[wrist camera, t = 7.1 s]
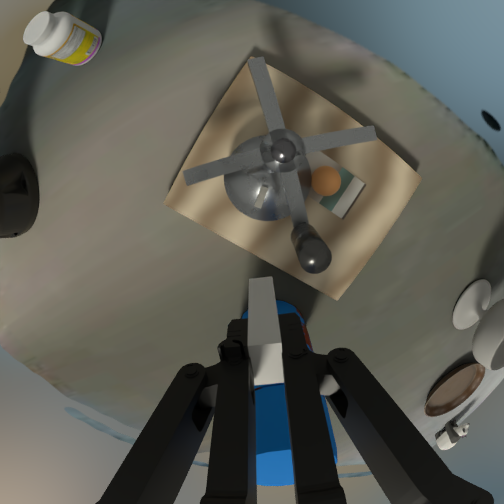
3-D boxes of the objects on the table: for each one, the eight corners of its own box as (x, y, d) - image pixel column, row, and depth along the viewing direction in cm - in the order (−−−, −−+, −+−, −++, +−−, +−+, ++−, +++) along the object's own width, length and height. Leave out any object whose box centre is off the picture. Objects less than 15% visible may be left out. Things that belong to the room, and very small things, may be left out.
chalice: (497, 268, 40) (542, 301, 26) (484, 321, 45) (519, 359, 31) (454, 282, 41) (502, 326, 27) (442, 339, 46) (476, 385, 32)
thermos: (286, 287, 41) (317, 435, 18) (315, 334, 44) (351, 468, 21) (225, 317, 43) (205, 463, 20) (259, 359, 46) (262, 491, 23)
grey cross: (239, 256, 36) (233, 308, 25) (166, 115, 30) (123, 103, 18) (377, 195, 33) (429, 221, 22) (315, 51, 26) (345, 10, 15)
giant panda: (440, 435, 65) (449, 453, 56) (431, 437, 65) (440, 456, 56) (465, 409, 60) (476, 428, 51) (456, 411, 59) (467, 431, 51)
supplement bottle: (67, 44, 26) (17, 26, 14) (100, 22, 25) (55, -6, 13) (72, 74, 28) (18, 61, 16) (106, 52, 28) (57, 28, 16)
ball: (302, 183, 33) (308, 187, 30) (318, 159, 32) (325, 160, 28) (326, 198, 34) (333, 204, 30) (341, 175, 32) (350, 178, 29)
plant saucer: (408, 415, 57) (412, 424, 54) (442, 362, 49) (448, 371, 46) (458, 401, 57) (462, 408, 54) (490, 351, 50) (496, 358, 47)
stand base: (167, 200, 36) (162, 204, 34) (251, 60, 29) (251, 55, 27) (333, 294, 41) (337, 301, 39) (415, 176, 34) (423, 178, 32)
